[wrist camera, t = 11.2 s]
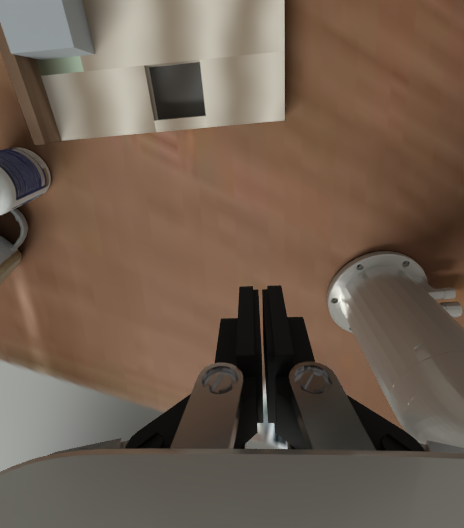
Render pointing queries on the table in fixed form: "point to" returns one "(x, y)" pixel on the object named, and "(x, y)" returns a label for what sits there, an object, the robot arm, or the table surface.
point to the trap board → (158, 70)
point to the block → (46, 28)
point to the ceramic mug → (12, 248)
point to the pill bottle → (21, 178)
